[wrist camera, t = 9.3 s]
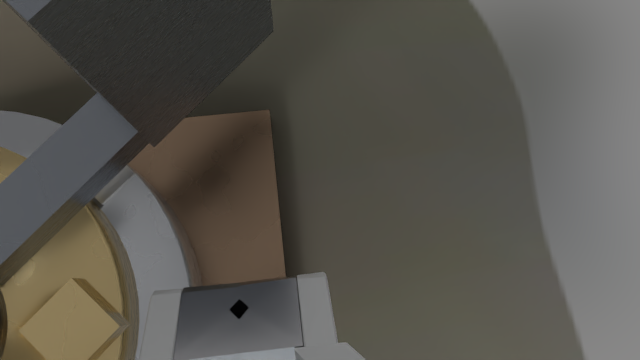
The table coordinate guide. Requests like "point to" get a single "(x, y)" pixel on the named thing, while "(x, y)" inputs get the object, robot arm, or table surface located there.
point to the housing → (188, 202)
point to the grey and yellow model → (102, 162)
